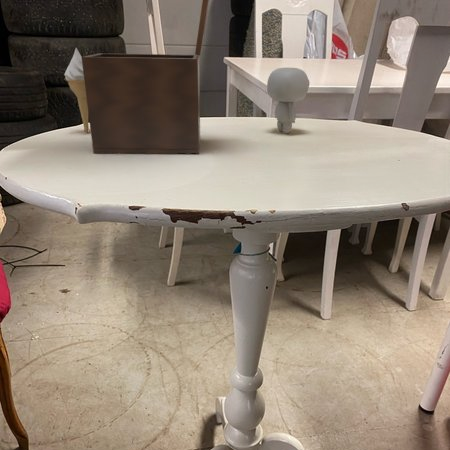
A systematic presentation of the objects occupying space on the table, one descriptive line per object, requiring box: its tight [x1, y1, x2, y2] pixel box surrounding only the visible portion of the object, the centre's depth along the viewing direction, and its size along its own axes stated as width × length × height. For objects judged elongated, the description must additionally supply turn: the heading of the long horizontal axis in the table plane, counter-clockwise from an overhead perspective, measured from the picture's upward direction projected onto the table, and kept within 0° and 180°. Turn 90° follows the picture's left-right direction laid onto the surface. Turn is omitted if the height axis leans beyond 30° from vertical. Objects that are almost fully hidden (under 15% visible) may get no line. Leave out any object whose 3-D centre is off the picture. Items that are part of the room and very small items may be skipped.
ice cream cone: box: [63, 47, 90, 133], centre depth 90 cm, size 6×6×15 cm
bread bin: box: [82, 53, 201, 155], centre depth 80 cm, size 18×13×14 cm
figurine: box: [266, 67, 310, 134], centre depth 94 cm, size 8×8×12 cm
